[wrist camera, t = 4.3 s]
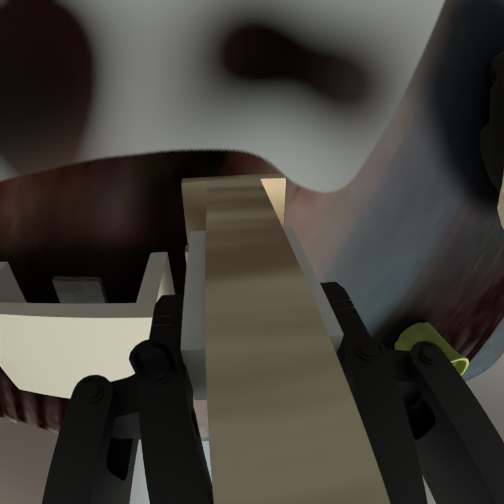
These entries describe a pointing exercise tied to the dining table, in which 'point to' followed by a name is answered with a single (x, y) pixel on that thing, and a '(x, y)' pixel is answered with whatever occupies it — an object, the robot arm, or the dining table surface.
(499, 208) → the stone bowl
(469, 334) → the dining table surface
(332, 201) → the dining table surface
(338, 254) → the dining table surface
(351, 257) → the dining table surface
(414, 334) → the plant pot
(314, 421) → the beech scraper
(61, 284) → the steel block
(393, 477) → the robot arm
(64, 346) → the cream u-shaped bracket
